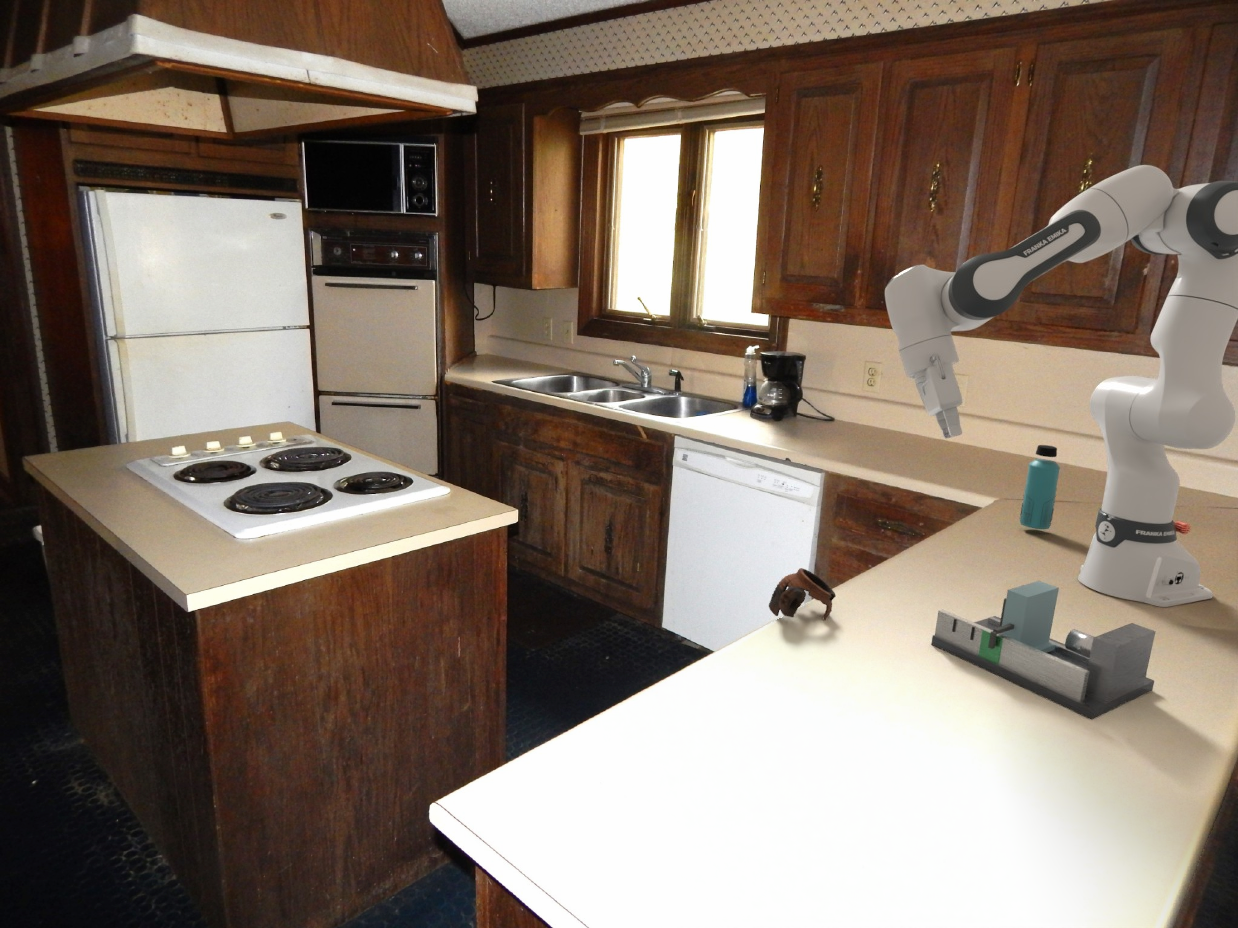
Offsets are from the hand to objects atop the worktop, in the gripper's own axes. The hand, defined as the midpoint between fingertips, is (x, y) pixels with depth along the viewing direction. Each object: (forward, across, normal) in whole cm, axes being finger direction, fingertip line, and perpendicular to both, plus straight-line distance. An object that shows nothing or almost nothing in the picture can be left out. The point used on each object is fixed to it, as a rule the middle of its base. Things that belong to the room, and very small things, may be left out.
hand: (953, 436), depth 138 cm
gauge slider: (+32, -20, +3) cm, 38 cm away
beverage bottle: (+26, +54, -17) cm, 63 cm away
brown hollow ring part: (+22, -14, +32) cm, 41 cm away
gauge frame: (+35, -19, 0) cm, 40 cm away
